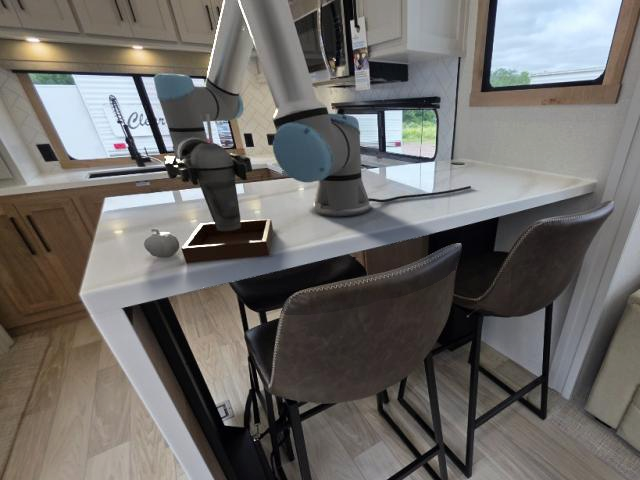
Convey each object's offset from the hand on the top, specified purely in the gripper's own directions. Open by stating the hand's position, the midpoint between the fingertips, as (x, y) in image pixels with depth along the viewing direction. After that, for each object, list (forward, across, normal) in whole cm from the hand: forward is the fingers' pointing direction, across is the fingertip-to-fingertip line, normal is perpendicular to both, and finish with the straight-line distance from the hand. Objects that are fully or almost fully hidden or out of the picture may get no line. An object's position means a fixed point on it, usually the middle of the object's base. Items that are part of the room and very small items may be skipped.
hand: (219, 174), depth 57 cm
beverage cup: (-5, 0, -11) cm, 12 cm away
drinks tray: (-5, 0, -15) cm, 16 cm away
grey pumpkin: (-7, +12, -15) cm, 20 cm away
